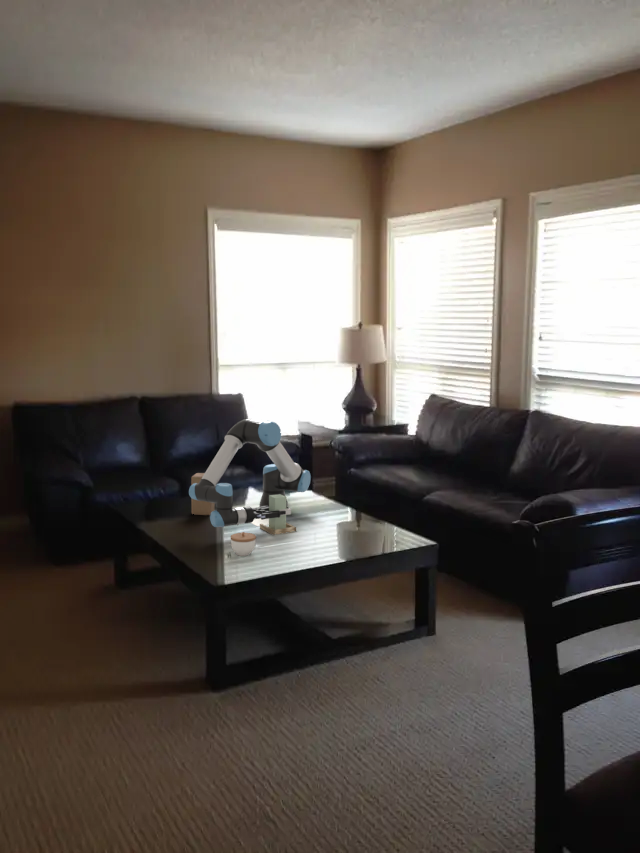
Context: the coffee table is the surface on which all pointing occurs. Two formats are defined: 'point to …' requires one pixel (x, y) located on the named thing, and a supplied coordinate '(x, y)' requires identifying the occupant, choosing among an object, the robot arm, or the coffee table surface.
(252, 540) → the lidded jar
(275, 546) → the coffee table surface
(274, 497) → the tall block
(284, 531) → the shallow wooden tray
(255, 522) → the pad
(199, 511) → the block
